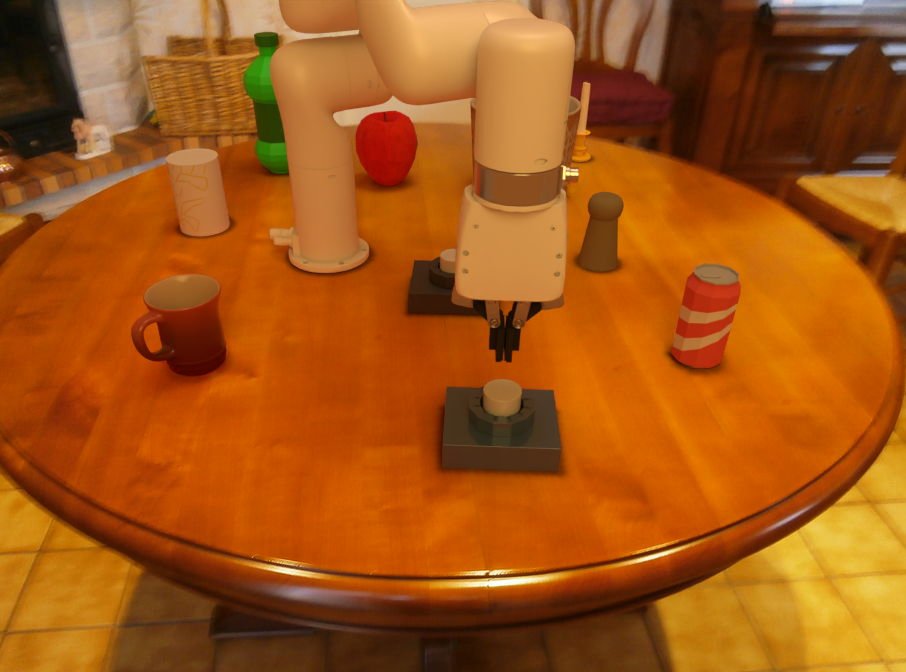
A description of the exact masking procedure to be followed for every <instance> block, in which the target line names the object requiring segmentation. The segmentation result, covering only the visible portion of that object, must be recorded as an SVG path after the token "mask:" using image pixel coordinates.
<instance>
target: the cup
mask: <svg viewBox="0 0 906 672" xmlns="http://www.w3.org/2000/svg"><path fill="white" fill-rule="evenodd" d="M165 164H166V169H167V172H168V173H167V174H168V177H169V182H170V186H171V187H170V188H171V191H172V196H173V200H174V201H173V202H174V206H175V209H176V210H175V211H176V215H177V220H178V224H179V228H180V229H179V230H180V231H181V233H183V234H184V235H186V236H190V237H209V236H214V235H217V234H221V233H223V232H224V231H226V230H228V229H229V228H230V226H231V221H230V217H229V210H228V205H227V199H226V193H225V188H224V182H223V176H222V170H221V164H220V158H219V153H218V152H217V151H216V150H213V149H209V148H202V147H201V148H200V147H197V148H195V147H194V148H186V149H185V148H184V149H180V150H176V151H174V152H171V153H169V154H168V155H167V156H166V157H165Z"/></svg>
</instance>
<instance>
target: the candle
mask: <svg viewBox="0 0 906 672" xmlns="http://www.w3.org/2000/svg"><path fill="white" fill-rule="evenodd" d="M581 87H582V88H581V95H580V103H581V104H582V108H581V113H580V119H579V124H578V130H577V135H576V140H575V146H574V151H573V157H572V162H573V163H574V162H575V163H586V162H588V161H590V160H591V158H592V155H591V154H590V153H588V152H585V151H586V150H587V149H588V145H586V141H587V139H586V137H587V136H589V135H590V134H591V131H590V130H588V129H587V121H588V114H589V113H588V111H589V103H590V96H591V95H590V94H591V83H590V82H587V81H583V83H582V86H581Z"/></svg>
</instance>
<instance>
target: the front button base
mask: <svg viewBox="0 0 906 672" xmlns="http://www.w3.org/2000/svg"><path fill="white" fill-rule="evenodd" d="M484 386H485V385H482V386H478V387H476V386H472V387H471V386H446V389H445V404H444V417H443V418H444V419H443V432H442V453H441V454H442V455H441V456H442V460H441V462H442V464H441V465H442V466H441V467H442V468H443V469H465V470H466V469H467V470H493V471H495V470H496V471H517V472H519V471H520V472H545V473H547V472H549V473H559V471H560V465H561V464H560V463H561V457H562V456H561V455H562V442H561V434H560V425H559V420H558V412H557V403H556V395H555V390H554V389H533V388H522V387H521V389H522V397H521V408H520V410H519V412H518V413H516V414H514V415H511V416H495V415H492V414H490V413H487V412H486V411H485V410H484V408H483V388H484Z"/></svg>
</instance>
